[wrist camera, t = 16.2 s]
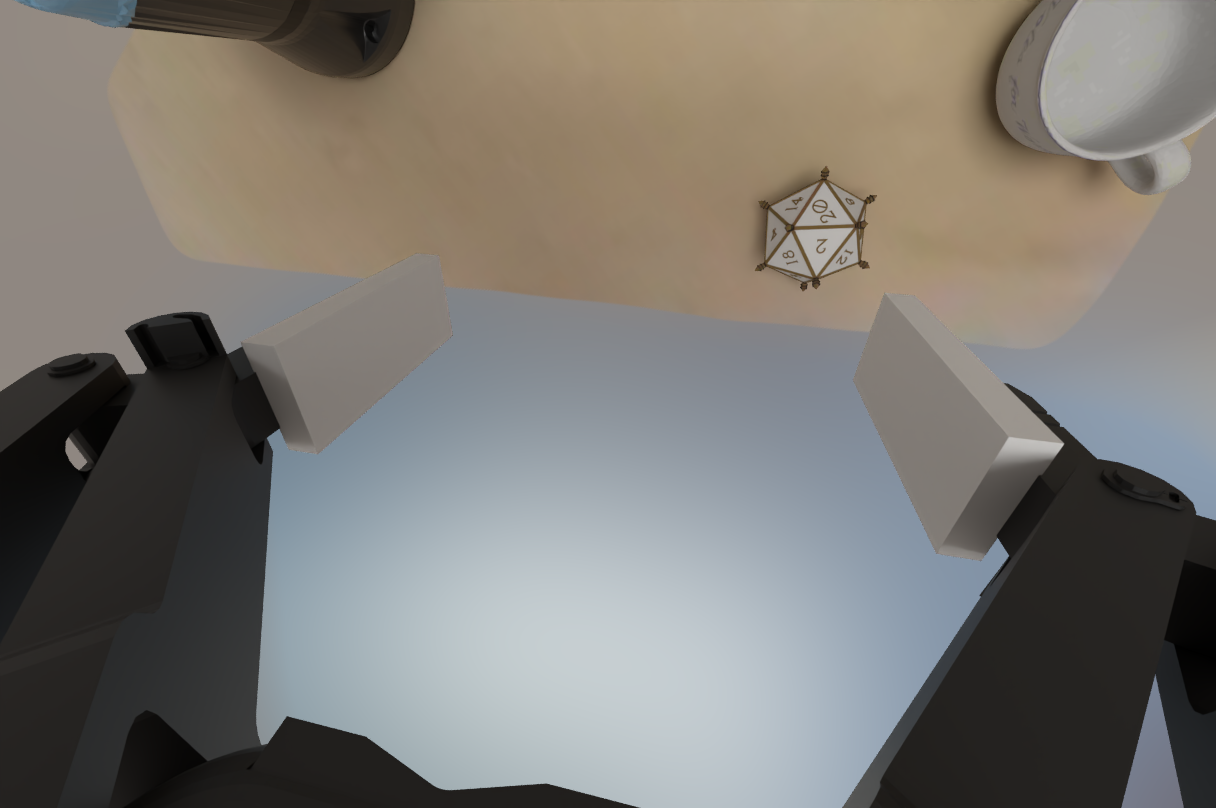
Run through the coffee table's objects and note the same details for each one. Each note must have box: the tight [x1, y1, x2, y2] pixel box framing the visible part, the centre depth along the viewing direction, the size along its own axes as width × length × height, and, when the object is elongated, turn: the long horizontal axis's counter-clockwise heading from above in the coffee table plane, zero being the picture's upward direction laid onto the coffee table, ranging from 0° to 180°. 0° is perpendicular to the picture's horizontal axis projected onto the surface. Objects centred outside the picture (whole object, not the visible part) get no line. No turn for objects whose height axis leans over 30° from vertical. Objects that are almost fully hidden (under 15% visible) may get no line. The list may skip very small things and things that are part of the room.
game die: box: [755, 166, 877, 291], centre depth 36 cm, size 9×8×10 cm
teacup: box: [996, 0, 1216, 195], centre depth 29 cm, size 14×11×8 cm
